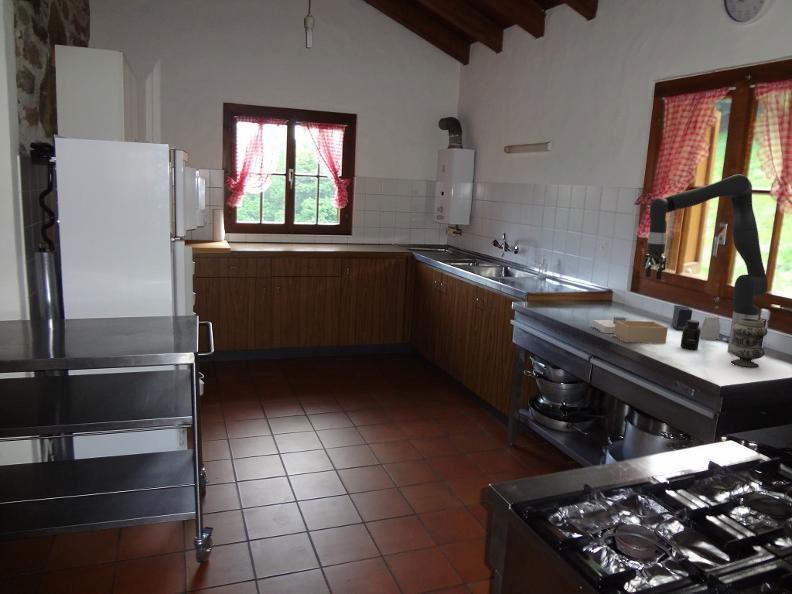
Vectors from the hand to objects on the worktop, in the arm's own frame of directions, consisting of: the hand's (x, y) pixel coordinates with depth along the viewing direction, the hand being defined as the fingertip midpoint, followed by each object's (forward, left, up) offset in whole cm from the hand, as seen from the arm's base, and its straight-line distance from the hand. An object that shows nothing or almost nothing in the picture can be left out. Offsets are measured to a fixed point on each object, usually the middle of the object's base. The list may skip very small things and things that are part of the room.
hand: (652, 278), depth 286 cm
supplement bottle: (-26, -5, -26) cm, 37 cm away
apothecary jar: (-49, -14, -26) cm, 57 cm away
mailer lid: (+4, +12, -26) cm, 29 cm away
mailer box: (-12, +10, -26) cm, 30 cm away
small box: (+12, -24, -26) cm, 38 cm away
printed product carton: (-8, -26, -26) cm, 38 cm away
